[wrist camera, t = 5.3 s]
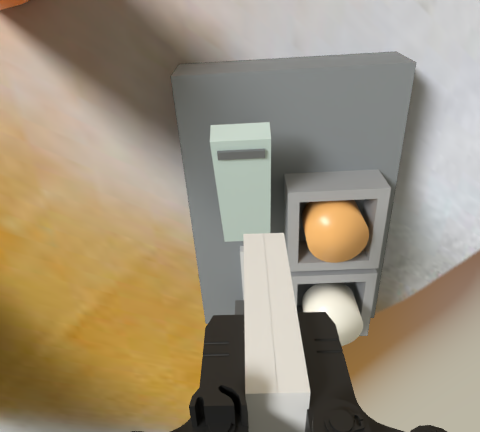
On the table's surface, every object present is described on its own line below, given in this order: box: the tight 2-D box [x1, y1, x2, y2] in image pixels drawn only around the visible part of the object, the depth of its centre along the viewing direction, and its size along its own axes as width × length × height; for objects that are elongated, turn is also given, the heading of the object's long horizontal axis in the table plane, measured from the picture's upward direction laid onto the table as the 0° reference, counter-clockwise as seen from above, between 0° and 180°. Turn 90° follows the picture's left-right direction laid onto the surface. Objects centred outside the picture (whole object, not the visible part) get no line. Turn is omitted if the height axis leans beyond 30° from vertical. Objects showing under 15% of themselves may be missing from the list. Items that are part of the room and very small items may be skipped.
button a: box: [302, 283, 363, 346], centre depth 32 cm, size 4×4×3 cm
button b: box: [302, 200, 369, 263], centre depth 30 cm, size 4×4×3 cm
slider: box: [235, 300, 244, 315], centre depth 35 cm, size 3×2×2 cm, turn 93°
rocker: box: [210, 122, 271, 242], centre depth 27 cm, size 4×10×2 cm, turn 3°
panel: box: [171, 52, 416, 336], centre depth 33 cm, size 16×23×7 cm
